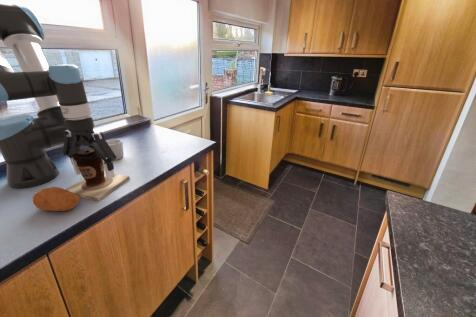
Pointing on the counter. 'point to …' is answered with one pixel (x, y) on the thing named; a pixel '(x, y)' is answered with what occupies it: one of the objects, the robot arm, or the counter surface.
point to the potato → (55, 199)
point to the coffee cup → (90, 166)
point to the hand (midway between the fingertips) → (95, 175)
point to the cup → (116, 147)
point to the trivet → (98, 187)
